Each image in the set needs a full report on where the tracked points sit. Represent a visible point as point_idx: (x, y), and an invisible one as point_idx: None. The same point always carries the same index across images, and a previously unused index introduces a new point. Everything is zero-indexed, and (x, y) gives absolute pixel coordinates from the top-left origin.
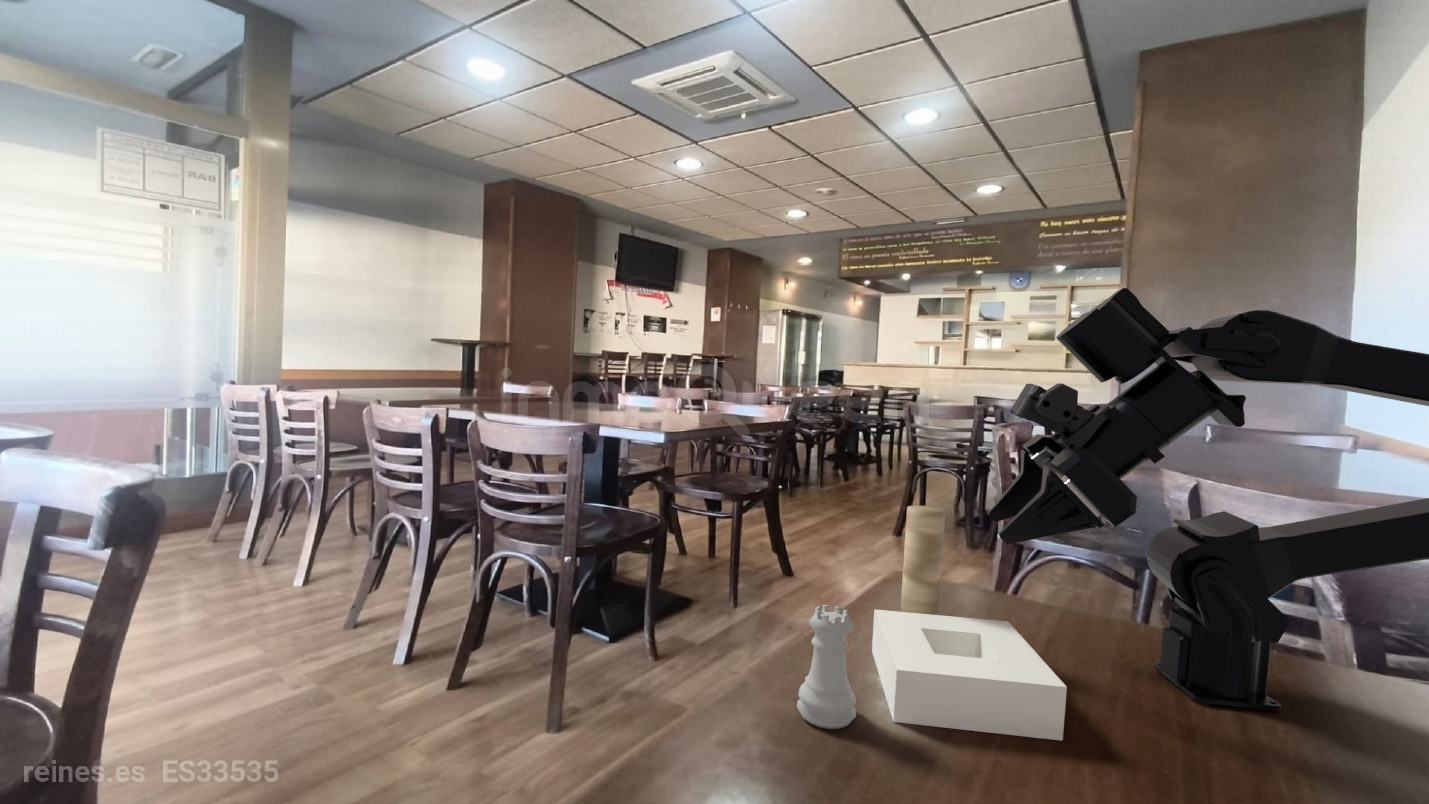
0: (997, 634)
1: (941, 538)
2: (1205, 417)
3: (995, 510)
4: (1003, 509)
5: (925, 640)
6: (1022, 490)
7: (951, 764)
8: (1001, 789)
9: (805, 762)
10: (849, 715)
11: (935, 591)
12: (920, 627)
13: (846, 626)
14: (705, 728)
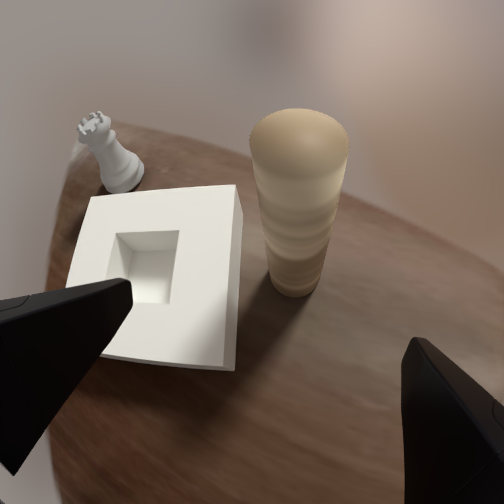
0: (168, 328)
1: (270, 207)
2: None
3: (416, 355)
4: (416, 382)
5: (144, 229)
6: (452, 454)
7: (68, 253)
8: (47, 277)
9: (84, 173)
10: (109, 188)
11: (270, 255)
12: (181, 229)
13: (79, 137)
14: (120, 125)
